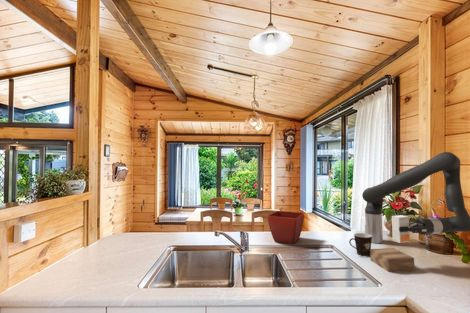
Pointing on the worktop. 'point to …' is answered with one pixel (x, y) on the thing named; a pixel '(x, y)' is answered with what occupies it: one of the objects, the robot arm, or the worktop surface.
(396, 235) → the skincare box
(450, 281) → the worktop surface
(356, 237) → the coffee mug
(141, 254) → the worktop surface
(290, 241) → the plant pot
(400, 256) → the walnut block
